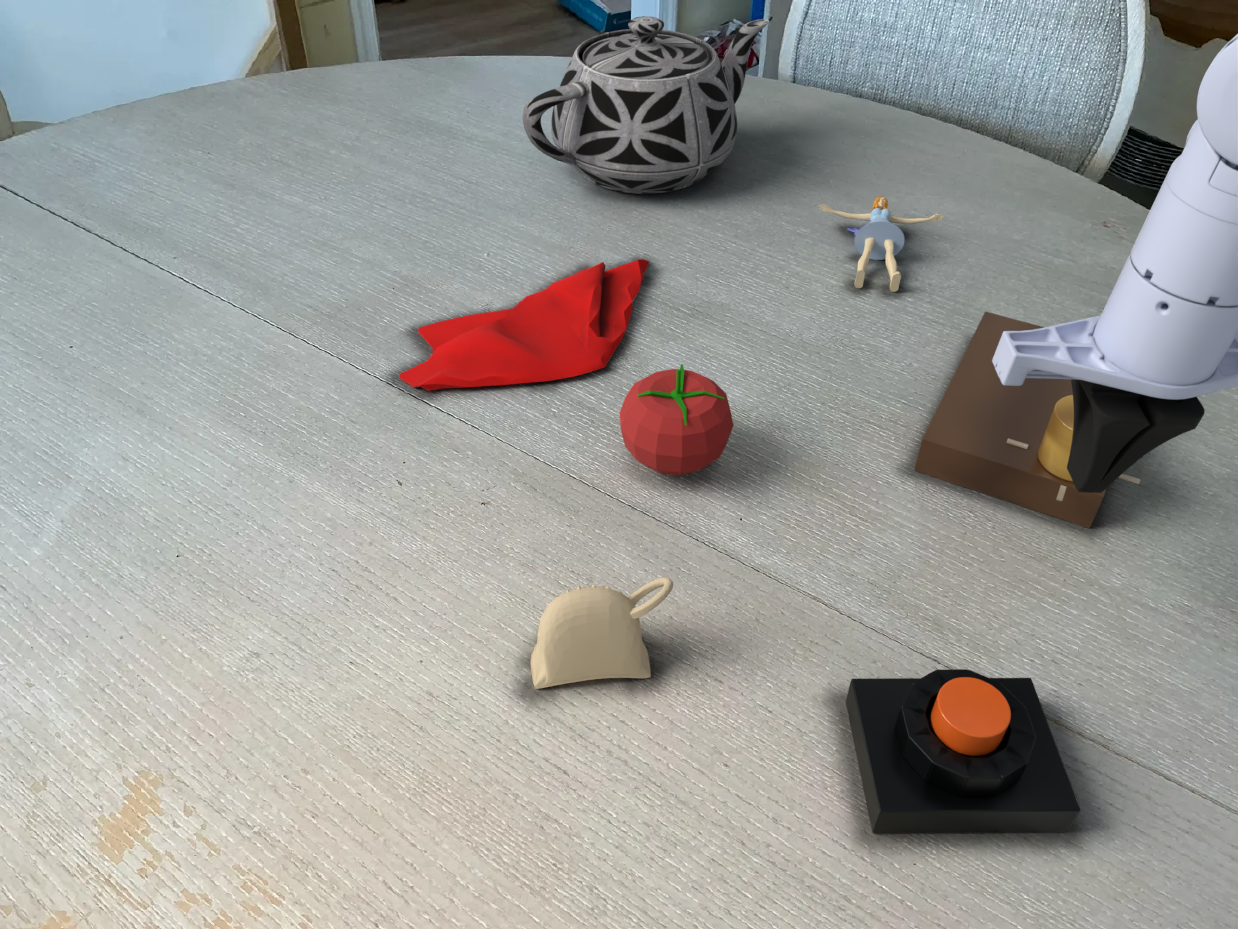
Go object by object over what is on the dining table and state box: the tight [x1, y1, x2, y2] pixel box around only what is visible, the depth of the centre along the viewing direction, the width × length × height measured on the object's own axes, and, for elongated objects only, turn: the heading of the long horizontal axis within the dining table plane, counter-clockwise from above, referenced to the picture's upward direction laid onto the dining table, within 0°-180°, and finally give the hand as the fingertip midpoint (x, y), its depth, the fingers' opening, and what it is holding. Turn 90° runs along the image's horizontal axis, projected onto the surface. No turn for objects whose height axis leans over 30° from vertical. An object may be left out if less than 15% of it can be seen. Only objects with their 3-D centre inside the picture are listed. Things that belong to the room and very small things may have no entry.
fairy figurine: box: [818, 195, 945, 293], centre depth 92 cm, size 12×5×12 cm
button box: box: [845, 668, 1081, 834], centre depth 53 cm, size 10×8×4 cm
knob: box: [1038, 395, 1074, 482], centre depth 67 cm, size 4×4×4 cm
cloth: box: [399, 258, 650, 392], centre depth 83 cm, size 26×14×2 cm, turn 124°
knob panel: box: [913, 311, 1141, 529], centre depth 74 cm, size 14×20×3 cm
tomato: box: [619, 363, 735, 477], centre depth 70 cm, size 8×8×8 cm
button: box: [931, 677, 1011, 756], centre depth 51 cm, size 4×4×2 cm
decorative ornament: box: [530, 576, 674, 690], centre depth 58 cm, size 4×8×5 cm, turn 95°
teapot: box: [522, 15, 769, 195], centre depth 103 cm, size 19×31×15 cm, turn 127°
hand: (1084, 479), depth 56 cm, fingers closed
